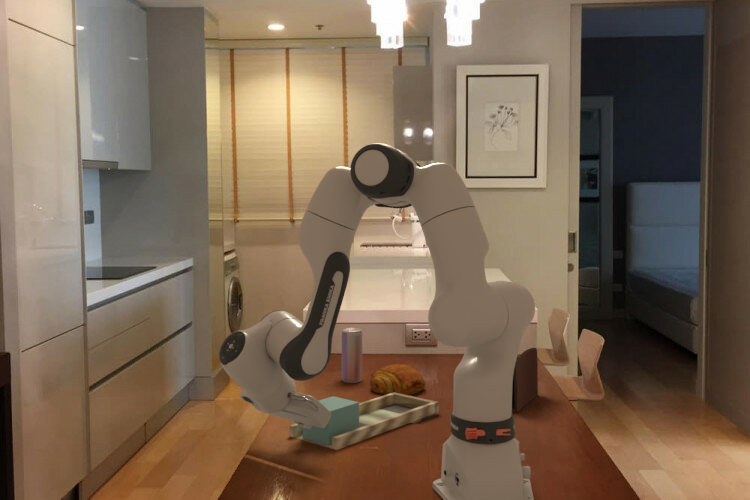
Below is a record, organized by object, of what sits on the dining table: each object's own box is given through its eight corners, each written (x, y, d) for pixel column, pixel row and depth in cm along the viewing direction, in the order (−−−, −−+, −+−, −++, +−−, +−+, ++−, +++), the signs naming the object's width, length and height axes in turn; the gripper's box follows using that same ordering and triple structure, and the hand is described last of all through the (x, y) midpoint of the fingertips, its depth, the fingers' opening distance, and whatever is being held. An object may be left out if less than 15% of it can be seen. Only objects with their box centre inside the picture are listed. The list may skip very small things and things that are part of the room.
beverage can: (338, 381, 237) (337, 330, 236) (348, 377, 243) (348, 327, 241) (356, 384, 235) (355, 332, 233) (366, 379, 240) (365, 328, 239)
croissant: (362, 396, 230) (358, 369, 229) (405, 380, 239) (401, 354, 238) (394, 406, 219) (390, 377, 218) (438, 389, 228) (434, 361, 227)
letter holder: (538, 395, 223) (538, 344, 222) (517, 414, 206) (517, 358, 204) (502, 391, 228) (503, 341, 226) (479, 409, 210) (479, 355, 209)
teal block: (328, 445, 179) (328, 411, 179) (302, 438, 184) (302, 405, 184) (359, 434, 187) (359, 402, 186) (333, 427, 192) (333, 396, 191)
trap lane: (336, 452, 177) (336, 438, 176) (289, 438, 186) (289, 425, 185) (438, 414, 205) (438, 401, 205) (393, 403, 214) (393, 392, 214)
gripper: (317, 385, 166) (349, 422, 174) (249, 370, 179) (282, 405, 187) (301, 412, 163) (335, 448, 171) (233, 394, 176) (268, 428, 184)
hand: (307, 425), depth 179 cm, fingers closed
